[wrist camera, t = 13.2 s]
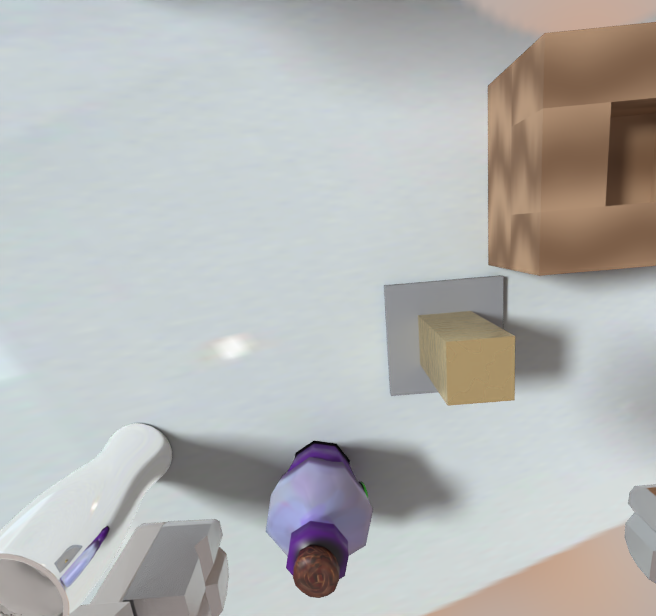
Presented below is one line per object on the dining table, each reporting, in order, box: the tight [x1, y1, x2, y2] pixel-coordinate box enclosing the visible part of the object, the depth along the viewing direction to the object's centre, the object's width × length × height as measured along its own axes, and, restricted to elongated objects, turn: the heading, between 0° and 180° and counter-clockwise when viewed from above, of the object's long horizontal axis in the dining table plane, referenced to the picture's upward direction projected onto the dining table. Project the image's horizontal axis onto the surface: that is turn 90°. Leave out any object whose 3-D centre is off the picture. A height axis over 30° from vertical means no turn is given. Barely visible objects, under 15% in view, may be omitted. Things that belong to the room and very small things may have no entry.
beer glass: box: [0, 423, 172, 616], centre depth 29 cm, size 7×7×15 cm
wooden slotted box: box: [488, 22, 656, 276], centre depth 27 cm, size 14×14×8 cm
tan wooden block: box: [418, 311, 515, 405], centre depth 29 cm, size 4×4×8 cm
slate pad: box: [384, 276, 503, 396], centre depth 33 cm, size 10×10×1 cm
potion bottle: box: [266, 441, 373, 598], centre depth 30 cm, size 9×9×12 cm
